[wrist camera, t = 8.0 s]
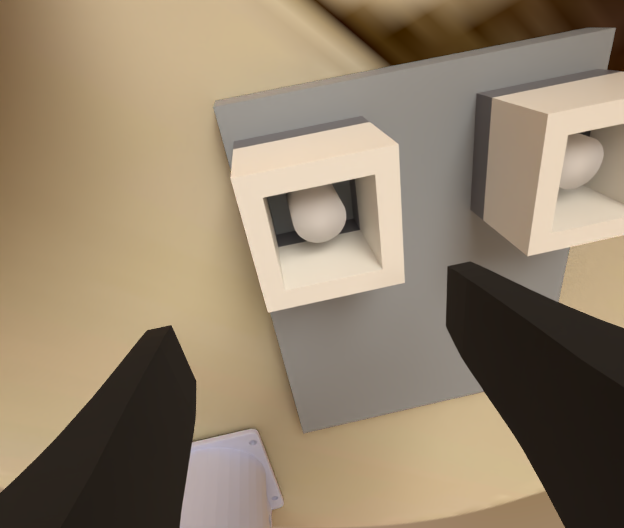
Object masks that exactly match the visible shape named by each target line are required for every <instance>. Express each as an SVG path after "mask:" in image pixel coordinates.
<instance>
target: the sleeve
mask: <svg viewBox="0 0 624 528" xmlns="http://www.w3.org/2000/svg"><path fill="white" fill-rule="evenodd" d="M230 179H231V182H232V186H233V189H234V193H235V197H236V200H237V204H238V207H239V211H240V214H241V218H242V222H243V225H244V229H245V232H246V236H247V240H248V243H249V247H250V250H251V254H252V257H253V261H254V265H255V268H256V272H257V275H258V279H259V283H260V286H261V290H262V293H263V297H264V300H265V304H266V308H267V311H268V313H269V312H273V311H278V310H283V309H287V308H292V307H296V306H301V305H305V304H310V303H315V302H319V301H324V300H328V299H333V298H337V297H342V296H347V295H351V294H356V293H360V292H365V291H369V290H374V289H379V288H383V287H388V286H392V285H397V284H402V283H405V275H404V252H403V230H402V207H401V185H400V162H399V144H398V143H397V142H395V141H394V140H393V139H391V138H390V137H389V136H387V135H386V134H385V133H384V132H382V131H381V130H380V129H378V128H377V127H376V126H374V125H373V124H372V123H371V122H369V121H368V120H367V119H365V118H364V117H363V116H358V117H353V118H348V119H343V120H338V121H333V122H328V123H323V124H318V125H313V126H308V127H303V128H298V129H293V130H288V131H283V132H278V133H273V134H268V135H263V136H258V137H253V138H248V139H244V140H239V141H234V145H233V156H232V167H231V178H230ZM346 180H349V182H350V190H351V199H352V208H353V216H354V218H353V219H349V220H346V222H345V225H344V227H343V229H342V230H341V232H340V233H339V234H338V235H337V236H336V237H334V238H333V239H331V240H329V241H326V242H321V243H313V242H309V241H306V240H304V239H303V238H301V237H300V236H299V235H298V234H297V232H296V231H292V232H287V233H282V234H278V235H276V231H275V226H274V222H273V218H272V213H271V209H270V205H269V201H268V197H269V196H273V195H278V194H283V193H288V192H293V191H298V190H302V189H307V188H312V187H317V186H322V185H327V184H331V183H336V182H341V181H346Z"/></svg>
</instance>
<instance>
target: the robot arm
mask: <svg viewBox="0 0 624 528" xmlns="http://www.w3.org/2000/svg"><path fill="white" fill-rule="evenodd" d="M446 328H447V330H448V332H449V334H450V336H451V338H452V340H453V342H454V344H455V346H456V348H457V350H458V352H459V354H460V356H461V358H462V359H463V361H464V363H465V364H466V366H467V367H468V369H469V370H470V372H471V373H472V374H473V376H474V377H475V379H476V380H477V382H478V383H479V385H480V386H481V388H482V389H483V391H484V392H485V394H486V395H487V396H488V398H489V399H490V401H491V402H492V404H493V405H494V407H495V408H496V409H497V411H498V412H499V414H500V415H501V417H502V418H503V420H504V421H505V423H506V424H507V425H508V427H509V428H510V430H511V431H512V433H513V434H514V436H515V438H516V439H517V441H518V442H519V444H520V446H521V447H522V449H523V450H524V452H525V454H526V456H527V458H528V459H529V461H530V463H531V465H532V467H533V468H534V470H535V472H536V474H537V476H538V477H539V479H540V481H541V483H542V485H543V486H544V488H545V490H546V492H547V494H548V496H549V498H550V500H551V502H552V503H553V505H554V507H555V509H556V511H557V513H558V515H559V517H560V518H561V521H562V522H563V524H564V526H565V528H624V328H622V327H619V326H616V325H613V324H611V323H608V322H605V321H603V320H600V319H597V318H595V317H592V316H590V315H588V314H585V313H583V312H580V311H578V310H575V309H573V308H570V307H568V306H566V305H564V304H561V303H559V302H557V301H554V300H552V299H550V298H548V297H546V296H543V295H541V294H539V293H537V292H535V291H533V290H530V289H528V288H526V287H524V286H522V285H520V284H518V283H516V282H514V281H512V280H510V279H507V278H505V277H503V276H501V275H499V274H497V273H495V272H493V271H491V270H489V269H487V268H484V267H482V266H480V265H478V264H475V263H473V262H471V261H469V262H465V263H460V264H455V265H451V266H447V299H446ZM195 418H196V380H195V378H194V375H193V373H192V371H191V369H190V366H189V364H188V362H187V359H186V357H185V355H184V353H183V350H182V348H181V346H180V344H179V341H178V339H177V337H176V335H175V332H174V330H173V328H172V326H171V325H170V326H166V327H161V328H156V329H152V330H147V331H146V332H145V334H144V335H143V336H142V337H141V338H140V339H139V341H138V342H137V343H136V344H135V346H134V347H133V348H132V349H131V351H130V352H129V353H128V354H127V356H126V357H125V358H124V359H123V361H122V362H121V363H120V364H119V366H118V367H117V368H116V369H115V371H114V372H113V373H112V374H111V375H110V377H109V378H108V379H107V380H106V382H105V383H104V384H103V385H102V387H101V388H100V389H99V390H98V391H97V393H96V394H95V395H94V396H93V397H92V399H91V400H90V401H89V402H88V403H87V404H86V405H85V406H84V408H83V409H82V410H81V411H80V412H79V413H78V414H77V415H76V417H75V418H74V419H73V420H72V421H71V422H70V423H69V424H68V426H67V427H66V428H65V429H64V430H63V431H62V432H61V433H60V435H59V436H58V437H57V438H56V439H55V440H54V441H53V442H52V443H51V444H50V445H49V446H48V447H47V448H46V449H45V450H44V451H43V452H42V453H41V454H40V455H39V456H38V457H37V458H36V459H35V460H34V461H33V462H32V463H31V464H30V465H29V466H28V467H27V468H26V469H25V470H24V471H23V472H22V473H21V474H20V475H19V476H18V477H17V478H16V479H15V480H14V481H13V482H12V483H11V484H10V485H8V486H7V487H6V488H5V489H4V490H3V491H2V492H1V493H0V528H272V510H273V509H278V508H281V507H282V506H283V505H284V500H283V497H282V494H281V491H280V489H279V486H278V483H277V480H276V478H275V475H274V472H273V470H272V467H271V464H270V462H269V459H268V456H267V453H266V451H265V448H264V445H263V443H262V440H261V437H260V435H259V432H258V431H257V430H256V429H247V430H243V431H238V432H234V433H230V434H225V435H221V436H217V437H212V438H208V439H204V440H199V441H195V442H192V440H193V433H194V426H195Z"/></svg>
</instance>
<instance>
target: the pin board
mask: <svg viewBox="0 0 624 528" xmlns="http://www.w3.org/2000/svg"><path fill="white" fill-rule="evenodd" d="M615 29H616V28H583V29H578V30H573V31H568V32H563V33H558V34H553V35H548V36H543V37H538V38H532V39H527V40H522V41H517V42H512V43H507V44H502V45H497V46H492V47H487V48H482V49H476V50H471V51H466V52H461V53H456V54H451V55H446V56H441V57H436V58H431V59H426V60H421V61H415V62H410V63H405V64H400V65H395V66H390V67H385V68H380V69H375V70H370V71H365V72H360V73H354V74H349V75H344V76H339V77H334V78H329V79H324V80H319V81H314V82H309V83H304V84H298V85H293V86H288V87H283V88H278V89H273V90H268V91H263V92H258V93H253V94H248V95H243V96H237V97H232V98H227V99H222V100H217V101H215V104H214V107H213V108H214V112H215V115H216V119H217V122H218V126H219V130H220V133H221V137H222V140H223V144H224V148H225V151H226V155H227V159H228V162H229V166H230V169H231V167H232V156H233V145H234V141H239V140H244V139H248V138H253V137H258V136H263V135H268V134H273V133H278V132H283V131H288V130H293V129H298V128H303V127H308V126H313V125H318V124H323V123H328V122H333V121H338V120H343V119H348V118H353V117H358V116H363V117H364V118H365V119H367V120H368V121H369V122H371V123H372V124H373V125H374V126H376V127H377V128H378V129H380V130H381V131H382V132H384V133H385V134H386V135H387V136H389V137H390V138H391V139H393V140H394V141H395V142H397V143H398V144H399V162H400V185H401V207H402V230H403V252H404V275H405V283H402V284H397V285H392V286H388V287H383V288H379V289H374V290H369V291H365V292H360V293H356V294H351V295H347V296H342V297H337V298H333V299H328V300H324V301H319V302H315V303H310V304H305V305H301V306H296V307H292V308H287V309H283V310H278V311H273V312H270V314H271V318H272V321H273V325H274V329H275V332H276V336H277V339H278V343H279V347H280V350H281V354H282V358H283V361H284V365H285V368H286V372H287V376H288V379H289V383H290V387H291V390H292V394H293V397H294V401H295V405H296V408H297V412H298V415H299V419H300V423H301V426H302V430H303V433H308V432H312V431H316V430H321V429H325V428H329V427H333V426H338V425H342V424H346V423H351V422H355V421H359V420H364V419H368V418H372V417H377V416H381V415H385V414H389V413H394V412H398V411H402V410H407V409H411V408H415V407H420V406H424V405H428V404H433V403H437V402H441V401H445V400H450V399H454V398H458V397H463V396H467V395H471V394H476V393H480V392H484V391H483V389H482V388H481V386H480V385H479V383H478V382H477V380H476V379H475V377H474V376H473V374H472V373H471V372H470V370H469V369H468V367H467V366H466V364H465V363H464V361H463V359H462V358H461V356H460V354H459V352H458V350H457V348H456V346H455V344H454V342H453V340H452V338H451V336H450V334H449V332H448V330H447V328H446V299H447V266H451V265H455V264H460V263H465V262H469V261H471V262H473V263H475V264H478V265H480V266H482V267H484V268H487V269H489V270H491V271H493V272H495V273H497V274H499V275H501V276H503V277H505V278H507V279H510V280H512V281H514V282H516V283H518V284H520V285H522V286H524V287H526V288H528V289H530V290H533V291H535V292H537V293H539V294H541V295H543V296H546V297H548V298H550V299H552V300H554V301H557V302H559V297H560V292H561V287H562V282H563V278H564V273H565V268H566V263H567V259H568V254H569V249H570V247H568V248H563V249H559V250H554V251H549V252H545V253H540V254H536V255H531V256H526V255H525V254H524V253H523V252H522V251H520V250H519V249H518V248H517V247H515V246H514V245H513V244H512V243H511V242H509V241H508V240H507V239H506V238H504V237H503V236H502V235H501V234H499V233H498V232H497V231H496V230H495V229H493V228H492V227H491V226H490V225H488V224H487V223H486V222H485V221H484V220H482V219H481V218H480V217H479V216H477V215H476V214H475V213H474V212H473V211H471V210H470V206H471V188H472V169H473V151H474V132H475V114H476V95H477V93H480V92H485V91H490V90H495V89H500V88H505V87H510V86H515V85H520V84H525V83H530V82H535V81H540V80H545V79H550V78H555V77H560V76H565V75H570V74H575V73H580V72H584V71H589V70H594V69H605V70H607V67H608V63H609V58H610V53H611V48H612V43H613V39H614V34H615ZM603 156H604V151H603V147H602V144H601V143H600V142H599V141H598V140H597V139H595V138H592V137H589V136H586V135H582V134H579V133H576V134H571V135H568V139H567V145H566V151H565V156H564V162H563V168H562V173H561V179H560V185H559V187H560V188H562V189H575V188H578V187H580V186H582V185H584V184H585V183H587V182H588V181H589V180H590V179H591V178H592V177H593V176H594V175H595V174H596V173H597V171H598V170H599V168H600V166H601V163H602V160H603ZM268 201H269V205H270V209H271V213H272V218H273V222H274V226H275V231H276V235H278V234H282V233H287V232H292V231H296V232H297V234H298V235H299V236H300V237H301V238H303V239H304V240H306V241H309V242H313V243H321V242H326V241H329V240H331V239H333V238H334V237H336V236H337V235H338V234H339V233H340V232H341V230H342V229H343V227H344V225H345V222H346V220H349V219H353V218H354V216H353V208H352V199H351V190H350V182H349V180H346V181H341V182H336V183H331V184H327V185H322V186H317V187H312V188H307V189H302V190H298V191H293V192H288V193H283V194H278V195H273V196H269V197H268Z"/></svg>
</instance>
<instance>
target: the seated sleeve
mask: <svg viewBox="0 0 624 528" xmlns="http://www.w3.org/2000/svg"><path fill="white" fill-rule="evenodd" d="M576 133H579V134H582V135H586V136H589V137H592V138H595V139H597V140H598V141H599V142H600V143H601V144H602V147H603V151H604V156H603V160H602V163H601V166H600V168H599V170H598V171H597V173H596V174H595V175H594V176H593V177H592V178H591V179H590V180H589V181H588V182H587V183H585V184H584V185H582V186H580V187H578V188H575V189H562V188H560V187H559V185H560V179H561V173H562V168H563V162H564V156H565V151H566V145H567V139H568V135H571V134H576ZM470 210H471V211H473V212H474V213H475V214H476V215H477V216H479V217H480V218H481V219H482V220H484V221H485V222H486V223H487V224H488V225H490V226H491V227H492V228H493V229H495V230H496V231H497V232H498V233H499V234H501V235H502V236H503V237H504V238H506V239H507V240H508V241H509V242H511V243H512V244H513V245H514V246H515V247H517V248H518V249H519V250H520V251H522V252H523V253H524V254H525V255H526V256H531V255H536V254H540V253H545V252H549V251H554V250H559V249H563V248H568V247H572V246H577V245H581V244H586V243H591V242H595V241H600V240H604V239H609V238H613V237H618V236H622V235H624V72H621V71H613V70H605V69H594V70H589V71H584V72H580V73H575V74H570V75H565V76H560V77H555V78H550V79H545V80H540V81H535V82H530V83H525V84H520V85H515V86H510V87H505V88H500V89H495V90H490V91H485V92H480V93H477V95H476V114H475V132H474V151H473V169H472V188H471V206H470Z"/></svg>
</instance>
